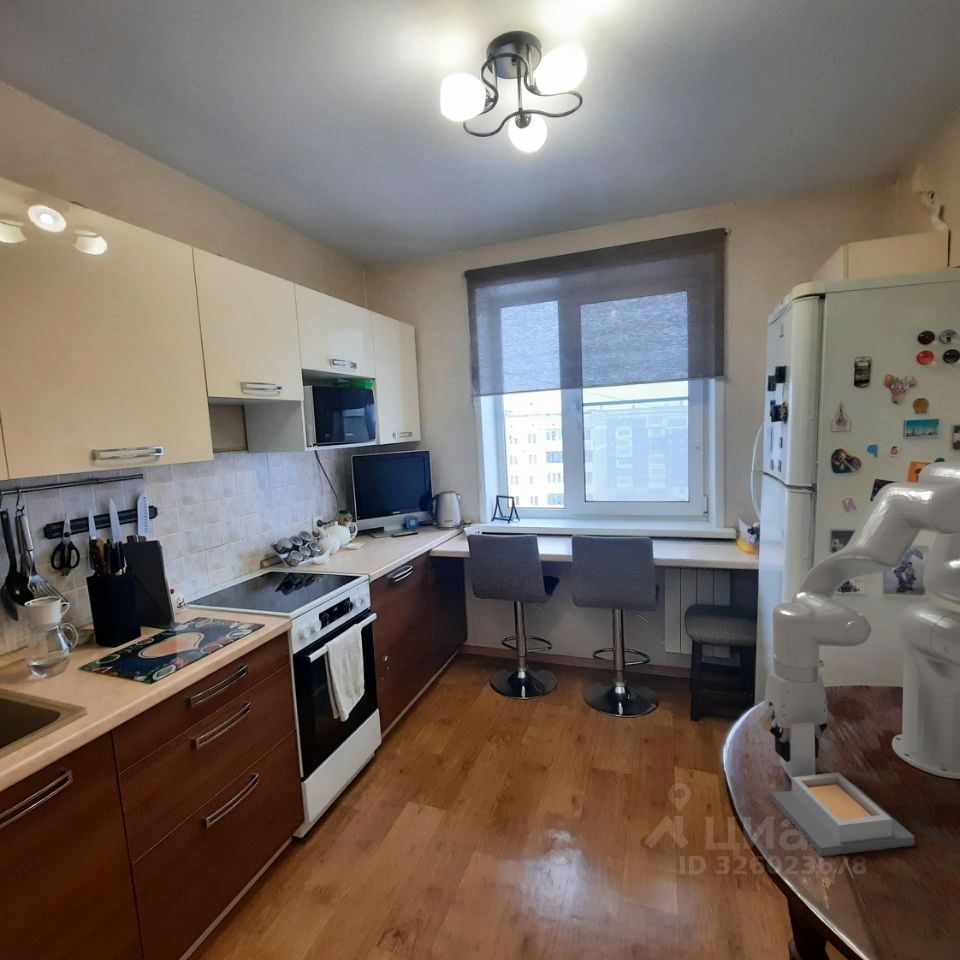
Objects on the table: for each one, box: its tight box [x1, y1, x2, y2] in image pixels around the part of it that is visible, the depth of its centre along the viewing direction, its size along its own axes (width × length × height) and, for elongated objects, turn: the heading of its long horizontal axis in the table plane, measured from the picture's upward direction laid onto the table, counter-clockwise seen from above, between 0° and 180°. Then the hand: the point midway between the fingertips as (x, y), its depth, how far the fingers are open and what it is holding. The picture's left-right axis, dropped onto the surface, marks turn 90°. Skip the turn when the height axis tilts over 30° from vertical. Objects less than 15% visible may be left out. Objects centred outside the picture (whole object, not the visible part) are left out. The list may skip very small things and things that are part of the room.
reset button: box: [809, 784, 871, 820], centre depth 85 cm, size 6×8×2 cm
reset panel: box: [771, 771, 915, 857], centre depth 85 cm, size 16×12×5 cm
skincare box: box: [779, 722, 816, 782], centre depth 96 cm, size 6×4×12 cm
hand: (796, 754), depth 96 cm, fingers closed on skincare box, 5 cm apart
